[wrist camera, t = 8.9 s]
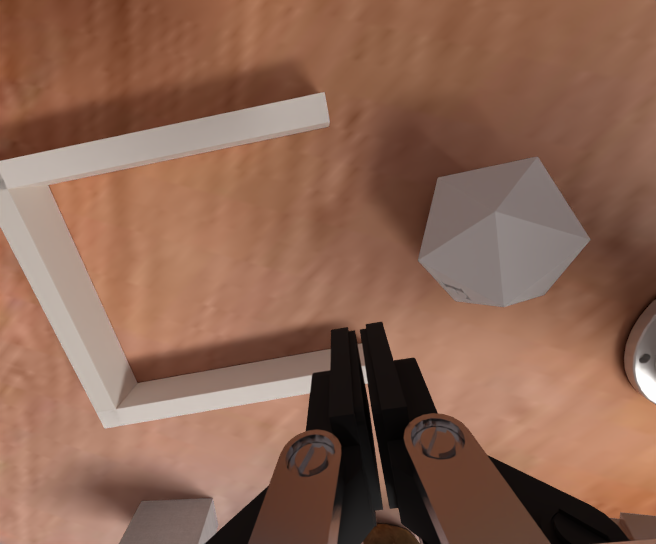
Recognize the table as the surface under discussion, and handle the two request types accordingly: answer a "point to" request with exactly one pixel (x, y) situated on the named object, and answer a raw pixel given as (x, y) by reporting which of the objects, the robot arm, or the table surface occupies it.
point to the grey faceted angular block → (172, 522)
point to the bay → (80, 295)
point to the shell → (389, 535)
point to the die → (500, 234)
